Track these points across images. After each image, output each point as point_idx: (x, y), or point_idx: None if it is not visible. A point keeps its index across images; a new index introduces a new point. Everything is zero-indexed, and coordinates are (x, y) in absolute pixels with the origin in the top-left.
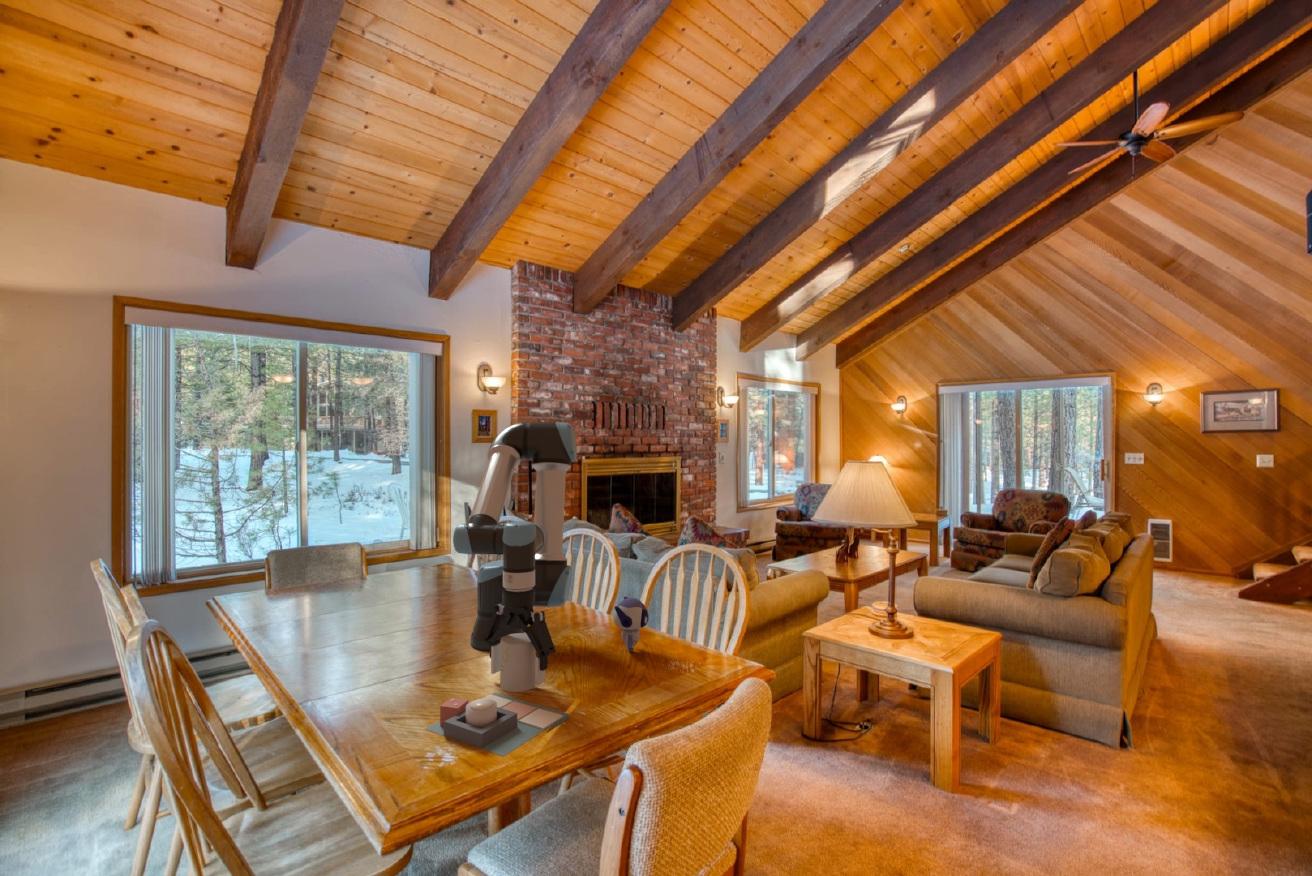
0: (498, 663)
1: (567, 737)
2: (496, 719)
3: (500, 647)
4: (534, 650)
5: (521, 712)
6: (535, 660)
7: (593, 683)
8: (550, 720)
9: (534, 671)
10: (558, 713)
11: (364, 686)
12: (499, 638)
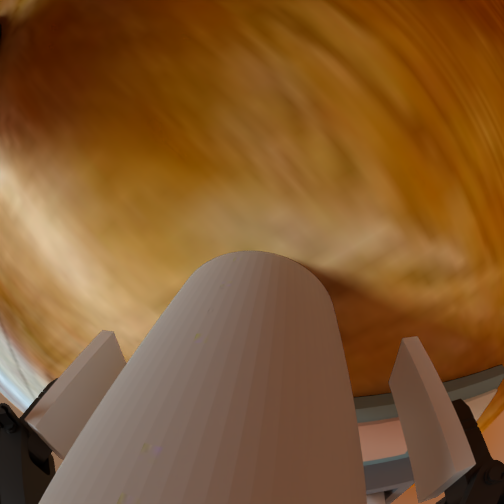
0: (100, 373)
1: (500, 402)
2: (382, 491)
3: (49, 418)
4: (366, 502)
5: (402, 440)
6: (346, 402)
7: (497, 102)
8: (475, 416)
9: (346, 366)
10: (486, 387)
11: (34, 399)
12: (36, 475)
